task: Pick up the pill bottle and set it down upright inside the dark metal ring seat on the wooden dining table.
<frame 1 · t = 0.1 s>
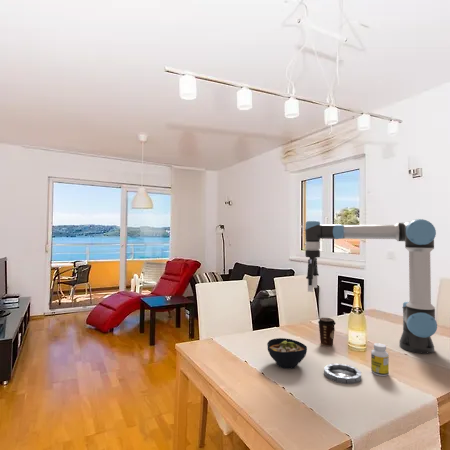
hand: (312, 289, 169), 28 cm above the table, fingers open, 13 cm apart
ring seat: (342, 375, 128), on the table
bowl: (286, 365, 139), on the table
pill bottle: (379, 373, 131), on the table
coffee cup: (327, 344, 165), on the table
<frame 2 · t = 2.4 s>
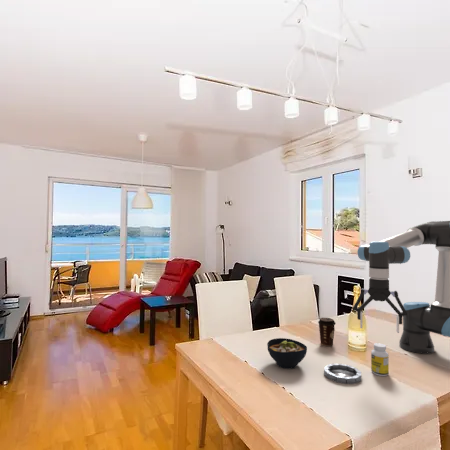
hand: (379, 329, 131), 18 cm above the table, fingers open, 13 cm apart
nothing on the table moved.
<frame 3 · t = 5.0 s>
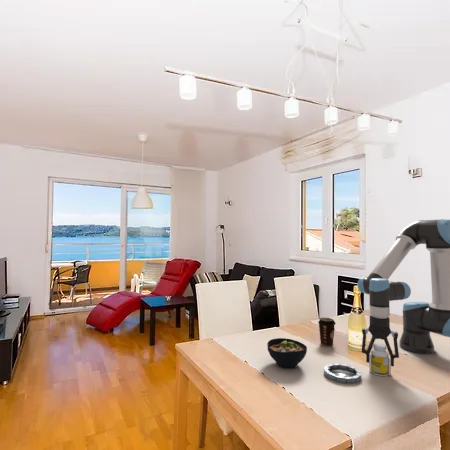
hand: (379, 372, 131), 0 cm above the table, fingers closed on pill bottle, 6 cm apart
pill bottle: (379, 373, 131), on the table, touching gripper
everything else where it was.
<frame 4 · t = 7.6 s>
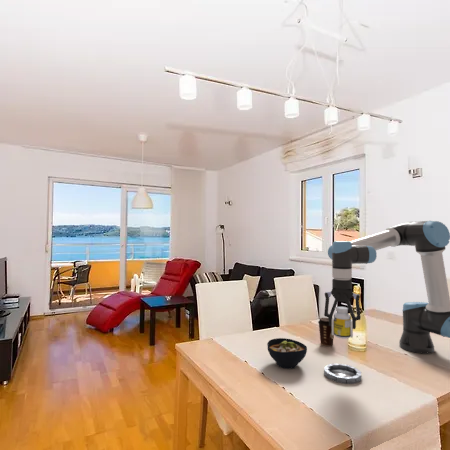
hand: (342, 335, 129), 16 cm above the table, fingers closed on pill bottle, 6 cm apart
pill bottle: (342, 337, 129), point 16 cm above the table, touching gripper
everything else where it was.
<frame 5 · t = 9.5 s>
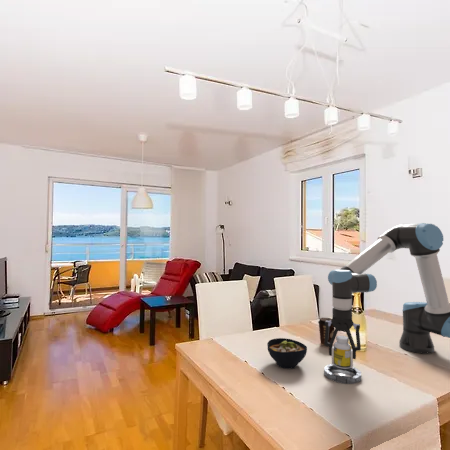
hand: (342, 364, 129), 4 cm above the table, fingers closed on pill bottle, 6 cm apart
pill bottle: (342, 366, 129), point 4 cm above the table, touching gripper
everything else where it was.
when the fingers open (2 cm above the table, at t = 10.8 s): pill bottle drops 1 cm, resting on ring seat.
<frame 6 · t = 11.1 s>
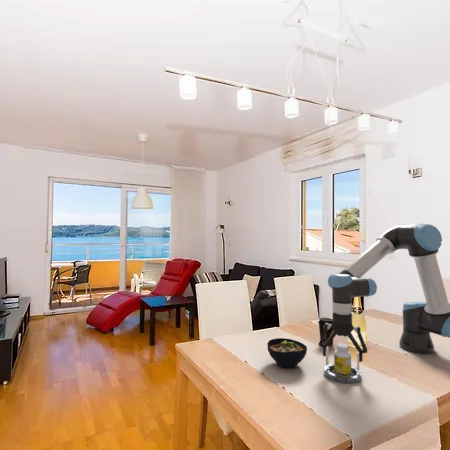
hand: (342, 366, 129), 4 cm above the table, fingers open, 11 cm apart
pill bottle: (342, 374, 128), resting on ring seat
everything else where it was.
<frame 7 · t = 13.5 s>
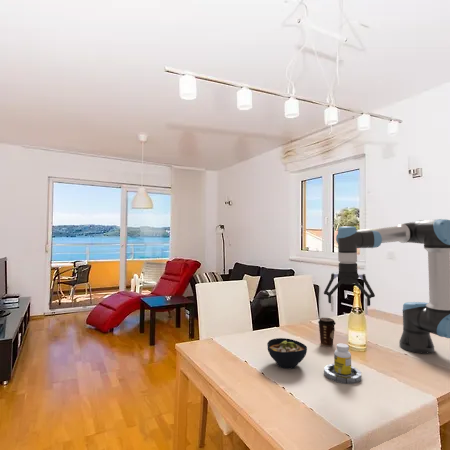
hand: (349, 312, 135), 24 cm above the table, fingers open, 13 cm apart
nothing on the table moved.
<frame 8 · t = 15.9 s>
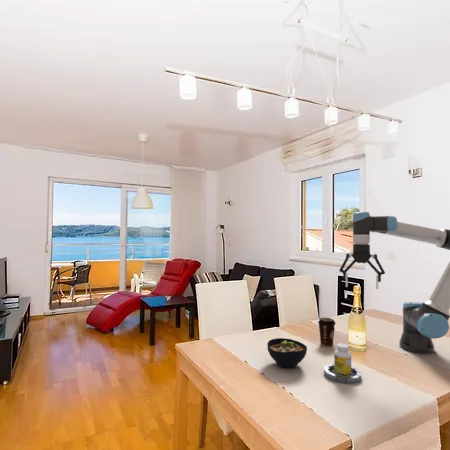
hand: (361, 287, 153), 32 cm above the table, fingers open, 13 cm apart
nothing on the table moved.
at the end: pill bottle 0.1 cm off-centre on the ring seat, point 0.4 cm above the ring seat's base; pill bottle tilted 0°; the gripper is holding nothing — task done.
